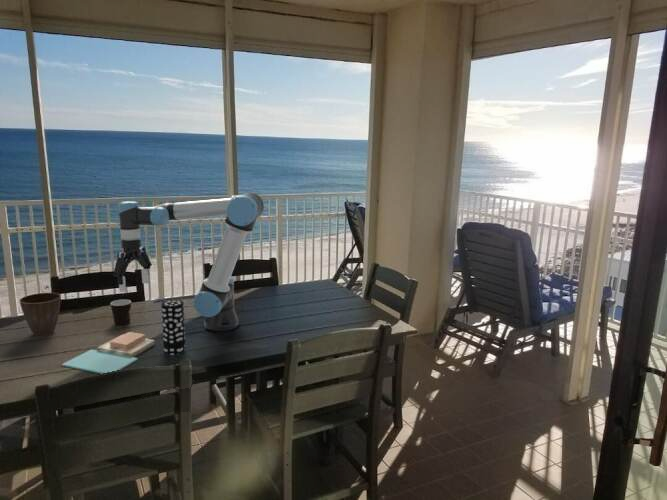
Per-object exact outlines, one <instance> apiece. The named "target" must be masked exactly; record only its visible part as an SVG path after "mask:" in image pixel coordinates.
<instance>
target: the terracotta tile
mask: <svg viewBox="0 0 667 500" xmlns="http://www.w3.org/2000/svg"><path fill="white" fill-rule="evenodd" d="M121 335H122V336H121ZM121 335H119V336H120V337H119V336H117V337H118V338H117V337H115V338H116V339H115V338H113V339H114V340H113V339H111V340H112V341H111V340H109V341H110V346H111V347H116V348H122V349H129V348H130V347H132V346H134V345H136V344H138V343H140V342H141V341H143V340H145V339H147V338H146V334H144V333H139V332H133V331H128V332H126V333H124V334H121Z"/></svg>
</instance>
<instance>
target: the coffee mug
mask: <svg viewBox="0 0 667 500" xmlns="http://www.w3.org/2000/svg"><path fill="white" fill-rule="evenodd" d="M110 307H111V313H112V317H113V323H114V325H115V326H117V327H125V326H127V325H129V324H131V311H132V301H131V300H130V299H117V300H116V299H115V300H113V301H111V302H110Z"/></svg>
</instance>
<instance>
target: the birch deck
mask: <svg viewBox="0 0 667 500" xmlns="http://www.w3.org/2000/svg"><path fill="white" fill-rule="evenodd" d="M122 335H123V334H121V335H119V336H117V337H115V338H112V339H111V340H108V341H106V342H105V343H103V344H101V345H99V346H96V348H97V349H96V350H97V351H102V352H108V353H113V354H118V355H124V356H129V357H134V358H135V357H136V356H138V355H139V354H141V353H144V352H145V351H146V350H148V349H149V348H151V347H154V346H155V345H156V343H155V340H156V339H152V338H151V339H149V338H146V339H145V340H143V341H141V342H140V343H138V344H136V345H134V346H132V347H130V348H129V349H122V348H116V347H111V346H110V341H112V340H114V339H116V338H118V337H120V336H122Z"/></svg>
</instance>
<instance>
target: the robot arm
mask: <svg viewBox="0 0 667 500" xmlns="http://www.w3.org/2000/svg"><path fill="white" fill-rule="evenodd" d="M263 201H264V200H263V199H262V198H261V197H260V196H259V195H258V194H256V193H255V192H254V193H253V192H246V193H242V194H236V195H234V194H233V195H232V196H231V197H229V198H227V197H226V198H219V199H218V198H216V199H205V200H204V199H203V200H193V201H192V200H191V201H180V202H163V203H161V204H158V205H153V206H139V203H138V202H137V201H132V200H130V201H122V202H120V203H118V218H119V226H120V227H119V228H120V230H119V231H120V239H121V241H120V243H121V248H122V249H123V252H117V256H116V257H117V258H116V261H115V266H114V270H113V273H112V276H113V277H117V283H118V284H117V285H118V288H119V289H118V290H119V292H120V293H121V292H122V293H127V287H126V285H127V284H126V276H124V275H125V274H126V271H127V269H128V267H129V264H131V262H133V261H137V263H138V264H139V265H140V266H141V267H142V268H141V282H142V284H149V274H150V273H149V269H151V267H152V261H151V260H150V258H149V256H148V254H147V250H146V247H144V246H142V242H141V228H140V226H155V227H159V226H166V225H167V224H168V222H169V221H180V220H192V219H203V218H205V219H206V218H216V217H217V218H219V217H225V219H224V223H225V225H226V228H225V230H224V233H223V237H222V240H221V241H220V245H219V247H218V250H217V254H216V256H215V259H214V260H213V263H212V264H213V265H212V267H211V270H210V272H209V275H208V277H207V278H205V279H204V278H203V281H202V284H201V285H200V289H199V292H197V294H196V295H195V296H194V299H193V307H194V309H195V310H196V312H197V313H198V314H199V315H201V316H203V317H205V319H204V325H203V326H204V328H205V329H207V330H209V331H213V332H225V331H231V330H233V329H235V328H237V327H238V326H239V318H238V316H237V313H236V311H235V310H236V309H235V291H234V290H235V283H234V278H233V277H232V275H233V271H234V269H235V268H236V264H237V261H238V259H239V257H240V253H241V250H242V249H243V245H244V243H245V239H246V238H247V234H249V233H252V232H253V229H254V226H255V224H256V221H257V219H259V218H260V216H261V215H262V214H263V213H264V209H265V205H264V202H263Z"/></svg>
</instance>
